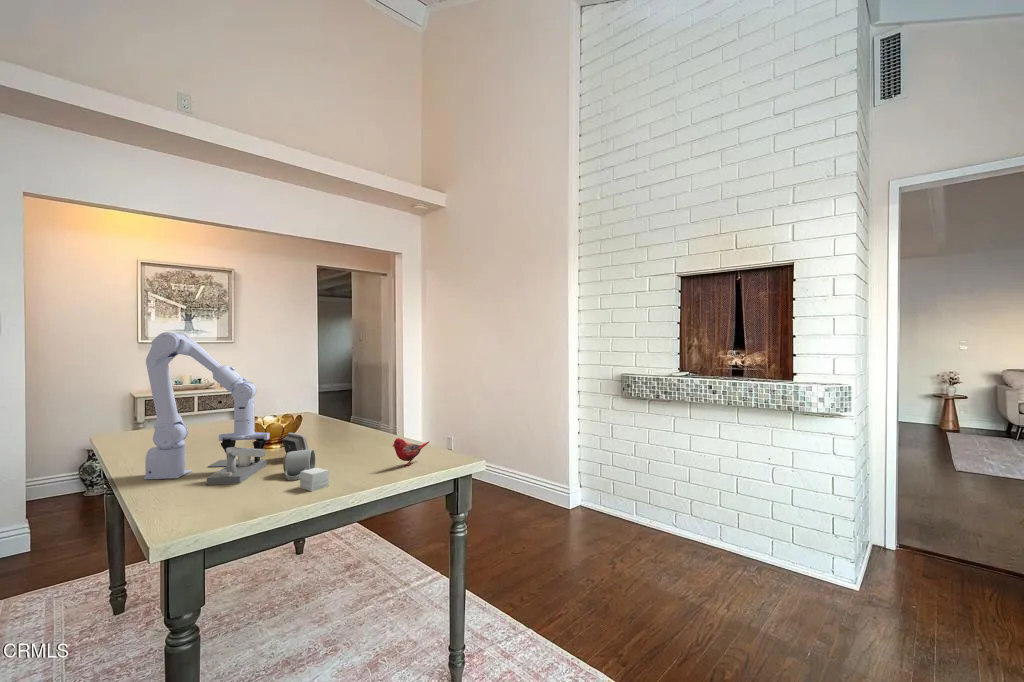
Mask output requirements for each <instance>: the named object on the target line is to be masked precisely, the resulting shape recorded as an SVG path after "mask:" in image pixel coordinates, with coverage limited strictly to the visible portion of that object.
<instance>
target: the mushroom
mask: <svg viewBox="0 0 1024 682" xmlns="http://www.w3.org/2000/svg"><path fill="white" fill-rule="evenodd" d="M243 448H253V447H252V446H251V447H249V446H248V447H247V446H244V447H243ZM237 460H238V467H243V466H250V465H251V460H252V457H250V456H237Z"/></svg>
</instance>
